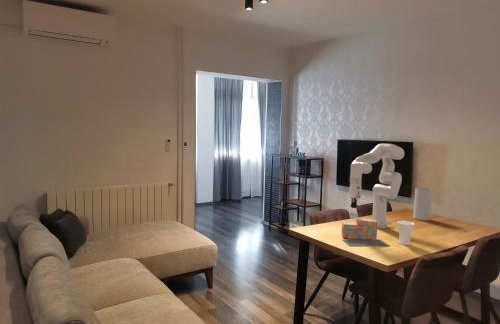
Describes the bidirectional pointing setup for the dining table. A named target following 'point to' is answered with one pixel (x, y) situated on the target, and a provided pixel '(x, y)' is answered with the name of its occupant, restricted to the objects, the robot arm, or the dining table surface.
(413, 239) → the dining table surface
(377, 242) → the rubber mat
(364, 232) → the stack of blocks
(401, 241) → the cup
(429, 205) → the cylinder vase
